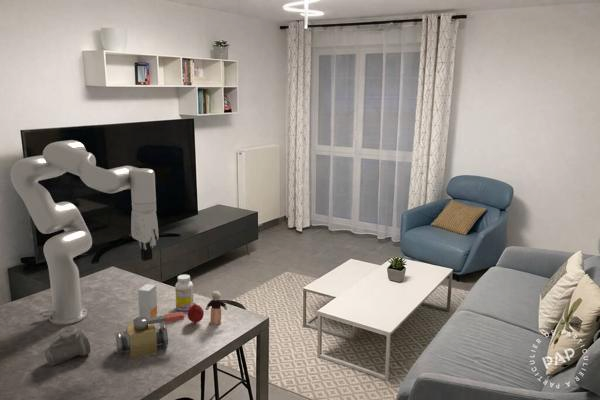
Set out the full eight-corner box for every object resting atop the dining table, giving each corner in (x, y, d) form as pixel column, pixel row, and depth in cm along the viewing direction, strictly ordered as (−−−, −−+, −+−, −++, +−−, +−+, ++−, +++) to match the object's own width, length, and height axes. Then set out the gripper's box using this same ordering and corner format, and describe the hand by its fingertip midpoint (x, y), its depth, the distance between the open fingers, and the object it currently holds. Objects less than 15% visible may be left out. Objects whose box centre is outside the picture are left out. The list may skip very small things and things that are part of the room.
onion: (206, 321, 177) (206, 301, 175) (198, 328, 171) (198, 307, 170) (193, 318, 179) (192, 298, 177) (184, 325, 173) (183, 304, 171)
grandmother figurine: (206, 326, 173) (205, 294, 170) (205, 321, 176) (205, 289, 173) (227, 325, 174) (227, 292, 171) (227, 320, 178) (226, 288, 175)
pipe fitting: (84, 344, 158) (78, 318, 154) (93, 356, 152) (88, 330, 149) (45, 361, 150) (38, 334, 146) (53, 375, 145) (47, 347, 141)
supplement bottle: (182, 302, 191) (181, 272, 188) (197, 305, 189) (196, 275, 186) (172, 309, 185) (171, 278, 182) (187, 312, 183) (186, 281, 180)
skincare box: (149, 321, 175) (148, 291, 172) (139, 320, 176) (137, 290, 173) (157, 314, 181) (156, 284, 178) (147, 312, 182) (146, 283, 179)
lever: (134, 330, 152) (133, 324, 152) (133, 324, 156) (132, 317, 156) (184, 322, 158) (184, 316, 158) (182, 316, 162) (182, 310, 162)
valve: (118, 360, 150) (116, 337, 148) (116, 348, 157) (114, 325, 156) (168, 350, 157) (167, 328, 155) (164, 338, 164) (163, 317, 162)
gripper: (122, 204, 159) (125, 256, 163) (145, 213, 149) (148, 268, 154) (143, 200, 165) (145, 251, 169) (166, 209, 155) (169, 262, 159)
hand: (146, 259), depth 161 cm, fingers closed
